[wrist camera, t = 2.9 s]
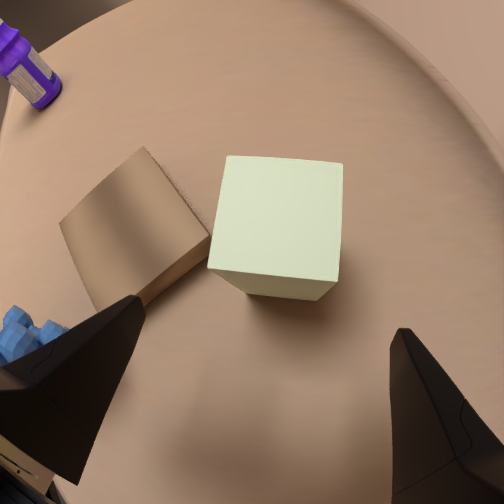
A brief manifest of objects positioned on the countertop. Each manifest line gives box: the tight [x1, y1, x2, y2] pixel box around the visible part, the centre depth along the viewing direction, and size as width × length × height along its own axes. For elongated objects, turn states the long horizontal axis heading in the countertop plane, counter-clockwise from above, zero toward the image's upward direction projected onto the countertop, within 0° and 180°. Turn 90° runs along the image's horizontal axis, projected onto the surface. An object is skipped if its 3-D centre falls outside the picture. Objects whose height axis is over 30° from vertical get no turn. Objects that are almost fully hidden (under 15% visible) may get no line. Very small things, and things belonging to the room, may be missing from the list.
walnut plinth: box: [59, 146, 212, 313], centre depth 22 cm, size 10×10×3 cm
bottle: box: [0, 18, 61, 108], centre depth 23 cm, size 7×6×17 cm
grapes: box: [0, 305, 70, 366], centre depth 16 cm, size 12×7×12 cm, turn 114°
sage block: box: [207, 156, 343, 301], centre depth 16 cm, size 5×5×10 cm
